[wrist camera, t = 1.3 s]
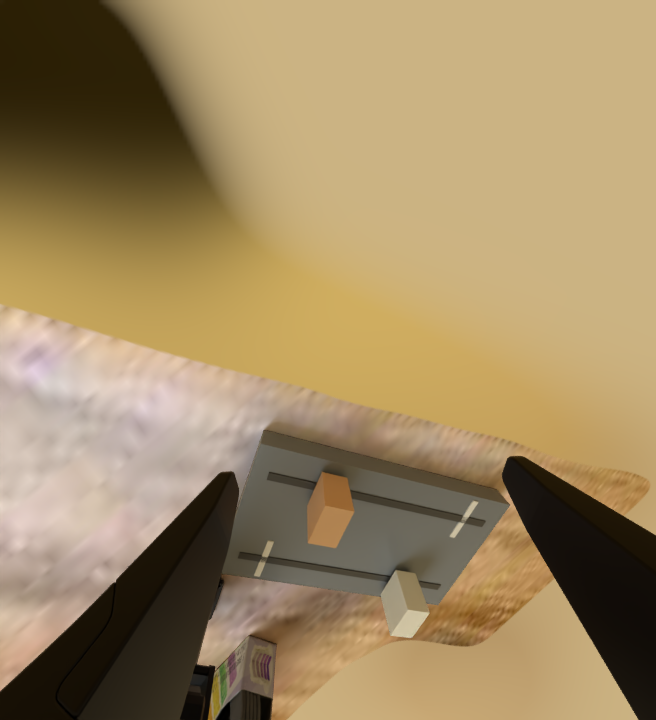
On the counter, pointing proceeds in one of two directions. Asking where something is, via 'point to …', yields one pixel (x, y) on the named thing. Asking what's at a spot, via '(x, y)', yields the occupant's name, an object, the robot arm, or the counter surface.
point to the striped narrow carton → (245, 683)
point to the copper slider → (329, 510)
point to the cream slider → (404, 604)
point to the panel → (357, 521)
